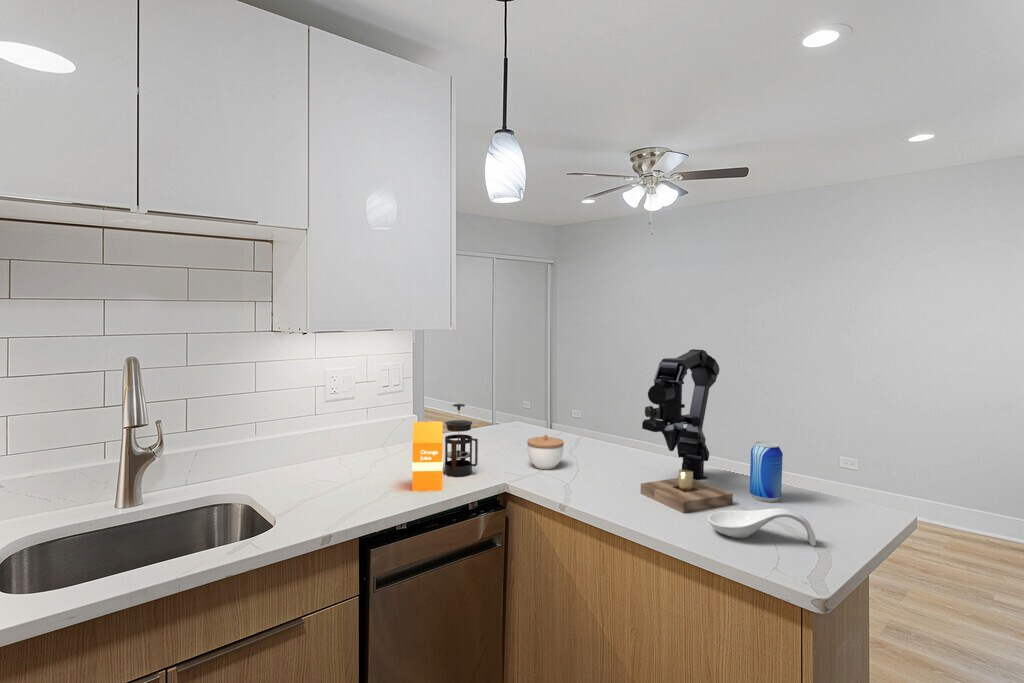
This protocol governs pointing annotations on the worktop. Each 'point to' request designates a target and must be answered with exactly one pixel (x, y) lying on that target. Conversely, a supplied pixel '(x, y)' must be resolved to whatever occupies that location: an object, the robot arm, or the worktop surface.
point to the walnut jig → (686, 495)
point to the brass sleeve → (685, 480)
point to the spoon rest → (753, 522)
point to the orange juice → (427, 456)
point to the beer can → (766, 471)
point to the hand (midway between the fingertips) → (671, 450)
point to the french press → (458, 466)
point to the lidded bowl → (545, 451)
